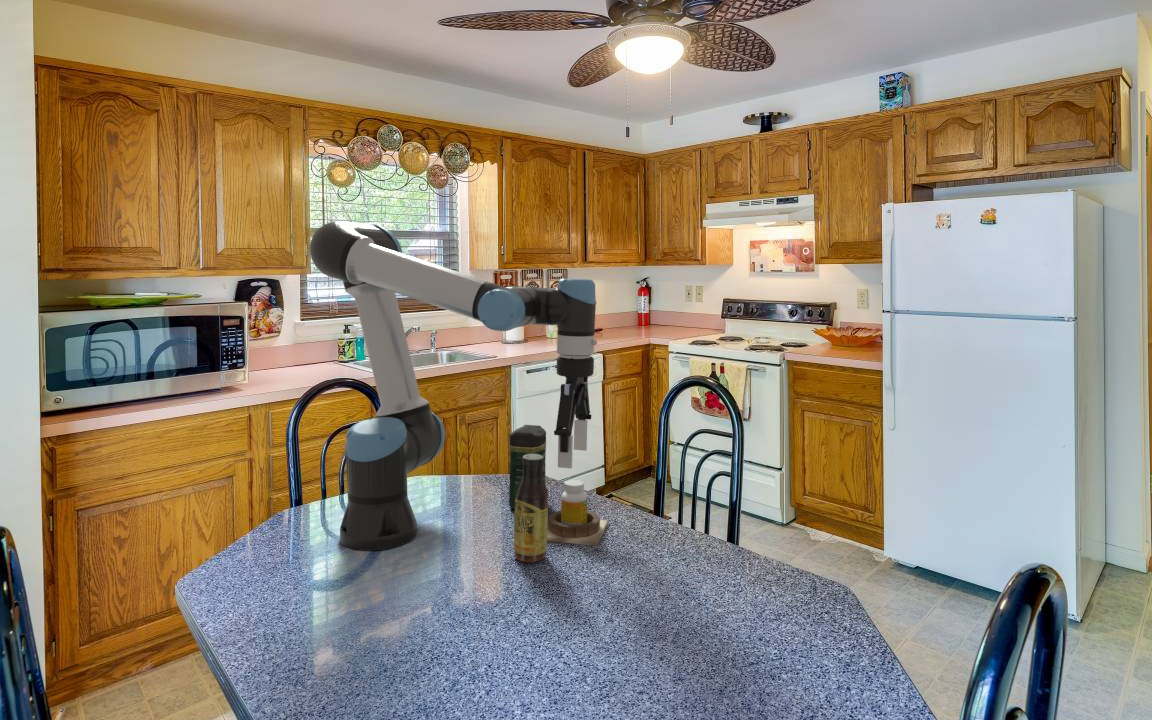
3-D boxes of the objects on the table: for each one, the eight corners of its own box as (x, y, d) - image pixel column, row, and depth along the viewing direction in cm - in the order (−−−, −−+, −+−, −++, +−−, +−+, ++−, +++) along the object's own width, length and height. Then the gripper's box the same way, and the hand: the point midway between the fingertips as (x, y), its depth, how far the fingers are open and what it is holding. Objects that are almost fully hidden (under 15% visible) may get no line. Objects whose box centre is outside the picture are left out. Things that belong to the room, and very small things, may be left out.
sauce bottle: (507, 557, 130) (506, 455, 128) (531, 548, 135) (531, 449, 132) (530, 567, 126) (530, 462, 123) (554, 557, 130) (555, 455, 128)
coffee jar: (539, 514, 153) (539, 432, 151) (505, 511, 155) (504, 430, 152) (549, 500, 163) (549, 423, 160) (517, 497, 164) (517, 421, 162)
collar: (538, 539, 139) (538, 525, 138) (553, 519, 150) (553, 505, 150) (596, 545, 136) (596, 531, 136) (607, 524, 148) (607, 510, 147)
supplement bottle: (586, 533, 140) (587, 487, 139) (560, 532, 140) (560, 486, 139) (587, 523, 146) (587, 479, 144) (561, 523, 146) (561, 478, 145)
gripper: (579, 365, 125) (577, 477, 128) (605, 349, 149) (602, 444, 152) (540, 362, 127) (538, 473, 130) (571, 347, 151) (569, 441, 154)
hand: (572, 458), depth 141 cm, fingers open, 13 cm apart
